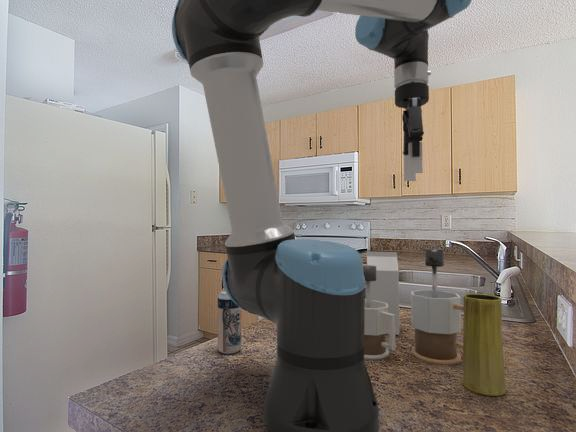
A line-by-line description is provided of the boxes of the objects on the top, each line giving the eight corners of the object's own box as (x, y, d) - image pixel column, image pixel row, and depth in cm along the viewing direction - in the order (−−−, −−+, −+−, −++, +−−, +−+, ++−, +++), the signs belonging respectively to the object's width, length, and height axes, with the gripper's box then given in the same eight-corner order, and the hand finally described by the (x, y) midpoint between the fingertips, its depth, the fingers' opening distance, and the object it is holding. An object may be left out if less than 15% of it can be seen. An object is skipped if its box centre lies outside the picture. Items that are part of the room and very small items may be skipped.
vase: (514, 398, 50) (512, 301, 51) (469, 395, 51) (467, 299, 52) (496, 379, 56) (494, 293, 57) (456, 377, 57) (455, 292, 58)
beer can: (227, 357, 66) (227, 295, 66) (212, 351, 69) (213, 292, 70) (246, 350, 70) (246, 291, 70) (231, 344, 73) (231, 288, 73)
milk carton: (399, 335, 79) (398, 253, 79) (367, 333, 80) (367, 253, 81) (396, 326, 86) (395, 251, 86) (367, 325, 87) (366, 250, 88)
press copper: (456, 374, 58) (455, 304, 58) (402, 352, 68) (401, 292, 69) (486, 364, 63) (484, 298, 63) (430, 344, 73) (430, 288, 73)
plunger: (439, 329, 63) (438, 251, 63) (410, 321, 68) (409, 249, 68) (460, 324, 66) (459, 249, 66) (431, 316, 71) (430, 247, 72)
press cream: (378, 368, 61) (377, 271, 61) (341, 349, 70) (340, 265, 70) (408, 359, 65) (407, 268, 65) (369, 342, 74) (368, 263, 74)
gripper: (437, 60, 67) (439, 167, 66) (421, 103, 91) (422, 182, 90) (397, 65, 69) (398, 169, 68) (392, 106, 93) (393, 183, 92)
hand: (412, 177), depth 79 cm, fingers open, 13 cm apart
